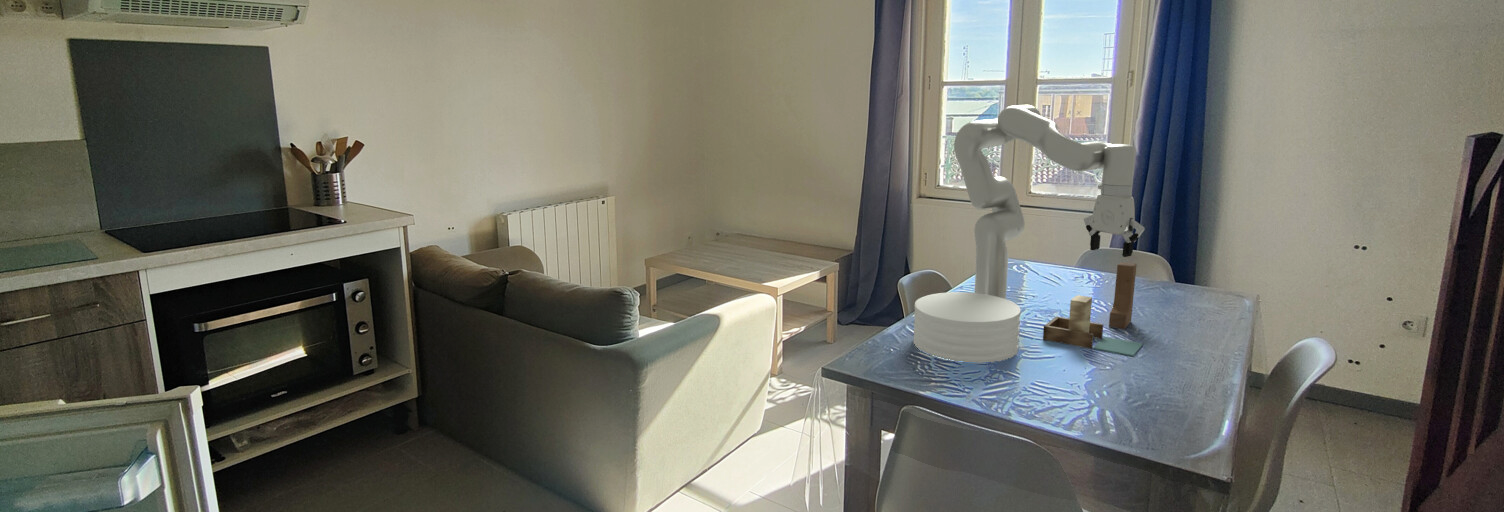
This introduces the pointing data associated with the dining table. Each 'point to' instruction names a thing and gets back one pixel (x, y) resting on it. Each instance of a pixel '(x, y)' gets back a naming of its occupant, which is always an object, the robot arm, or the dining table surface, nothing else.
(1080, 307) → the birch block
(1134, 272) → the wooden block
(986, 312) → the plate stack
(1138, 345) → the mat
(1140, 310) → the dining table surface
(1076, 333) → the crate
